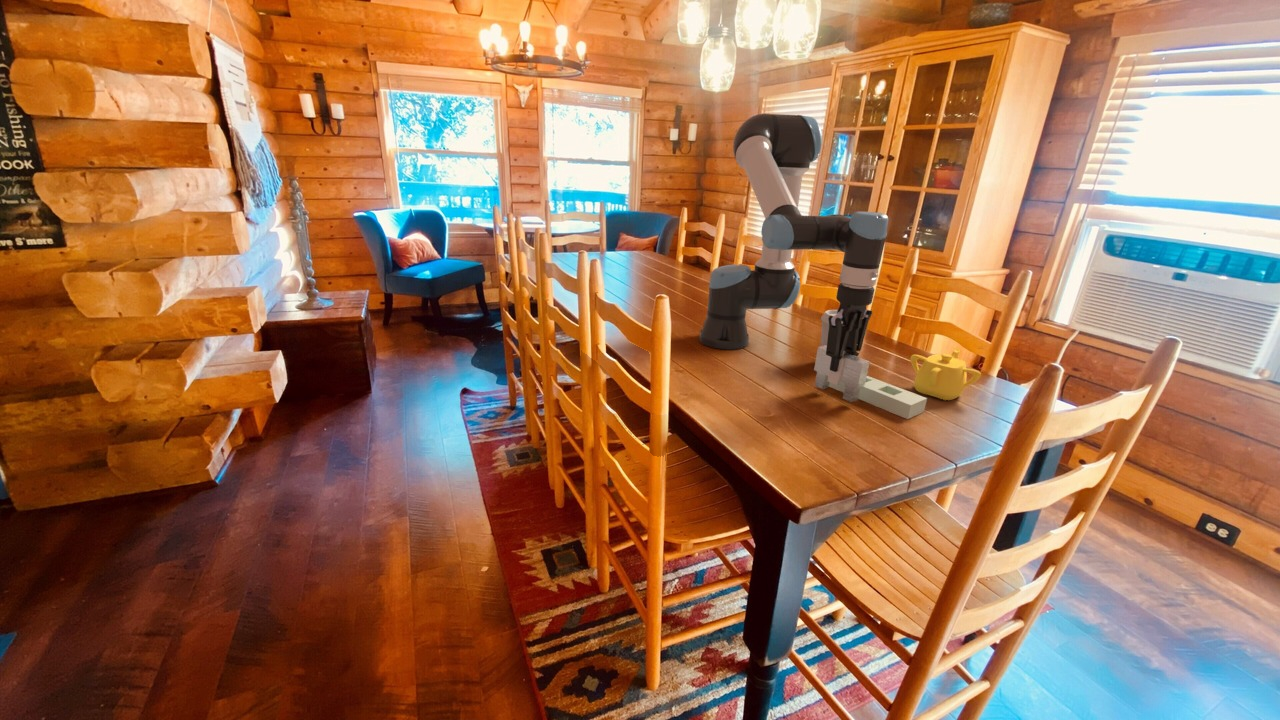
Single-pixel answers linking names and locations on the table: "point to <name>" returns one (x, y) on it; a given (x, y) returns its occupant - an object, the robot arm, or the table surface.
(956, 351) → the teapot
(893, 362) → the table surface
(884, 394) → the rail
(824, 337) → the coffee cup
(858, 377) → the grey piece
